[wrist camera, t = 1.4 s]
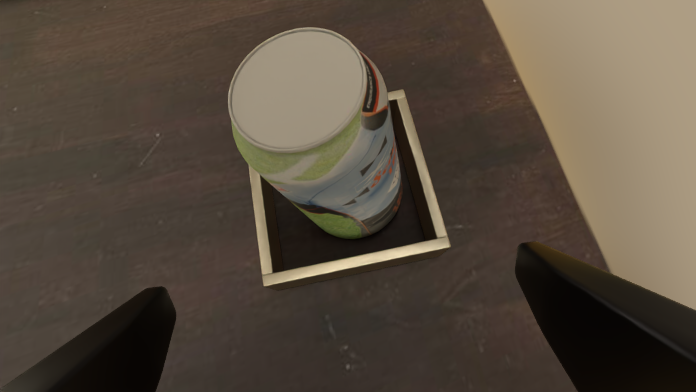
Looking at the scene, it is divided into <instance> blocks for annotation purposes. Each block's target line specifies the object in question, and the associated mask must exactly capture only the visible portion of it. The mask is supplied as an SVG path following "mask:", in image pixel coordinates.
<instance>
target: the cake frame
mask: <svg viewBox="0 0 696 392" xmlns="http://www.w3.org/2000/svg"><path fill="white" fill-rule="evenodd" d="M387 94H388V100H389V106H390V112H391V118H392V124H393V126H394V129H395V133H396V136H397V140H398V144H399V147H400V151H401V154H402V158H403V161H404V165H405V169H406V172H407V176H408V179H409V183H410V187H411V190H412V194H413V197H414V201H415V204H416V208H417V212H418V215H419V219H420V222H421V226H422V230H423V233H424V237H425V240H426V241H423V242H418V243H414V244H409V245H404V246H399V247H395V248H390V249H385V250H381V251H376V252H371V253H366V254H362V255H357V256H352V257H347V258H343V259H338V260H333V261H328V262H324V263H319V264H314V265H309V266H305V267H300V268H295V269H290V270H286V271H284V269H283V262H282V255H281V248H280V241H279V234H278V227H277V220H276V212H275V205H274V198H273V191H272V185H271V184H270V183H269V182H268V181H266V180H265V179H264V178H263V177H262V176H261V175H260V174H259V173H257V172H256V171H255V170H254V169H253V168H252V167H251V166H250V165H249V173H250V181H251V189H252V197H253V206H254V214H255V222H256V230H257V239H258V247H259V255H260V263H261V272H262V275H263V276H262V279H263V286H264V287H267V288H270V289H274V290H277V291H278V290H283V289H287V288H292V287H297V286H302V285H306V284H311V283H316V282H321V281H325V280H330V279H335V278H339V277H344V276H349V275H354V274H358V273H363V272H368V271H372V270H377V269H382V268H387V267H391V266H396V265H401V264H405V263H410V262H415V261H420V260H424V259H429V258H434V257H438V256H440V255H441V254H443V253H444V252H445V251H446V250H448V249H449V248H450V247H451V245H450V242H449V238H448V237H447V232H446V228H445V225H444V222H443V219H442V215H441V212H440V209H439V205H438V202H437V199H436V195H435V192H434V189H433V185H432V182H431V179H430V175H429V172H428V169H427V165H426V162H425V159H424V155H423V152H422V149H421V145H420V142H419V139H418V136H417V132H416V129H415V126H414V122H413V119H412V116H411V112H410V109H409V106H408V102H407V99H406V96H405V92H404V90H403V89H402V90H397V91H392V92H387Z"/></svg>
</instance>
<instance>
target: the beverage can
mask: <svg viewBox="0 0 696 392" xmlns="http://www.w3.org/2000/svg"><path fill="white" fill-rule="evenodd" d="M228 107H229V114H230V116H231V119H232V130H233V136H234V139H235V142H236V145H237V147H238V150H239V151H240V153H241V154H242V156H243V158H244V159H245V161H246V162H247V163H248V164H249V165H250V166H251V167H252V168H253V169H254V170H255V171H256V172H257V173H259V174H260V175H261V176H262V177H263V178H264V179H265V180H266V181H268V182H269V183H270V184H271V185H272V186H273V187H274V188H276V189H277V190H278V191H279V192H280V193H281V194H282V195H284V196H285V197H286V198H287V199H288V200H289V201H290V202H292V203H293V204H294V205H295V206H296V207H297V208H298V209H299V210H301V211H302V212H303V213H304V214H305V215H306V216H307V217H309V218H310V219H311V220H312V221H313V222H314V223H315V224H317V225H318V226H319V227H320V228H321V229H323V230H324V231H325V232H327V233H329V234H331V235H333V236H336V237H340V238H344V239H357V238H363V237H367V236H370V235H372V234H374V233H376V232H378V231H379V230H381V229H382V228H384V227H385V226H386V225H387V224H388V223H389V222H390V221H391V220H392V218H393V217H394V216H395V214H396V213H397V210H398V208H399V206H400V203H401V199H402V190H403V187H402V179H401V173H400V167H399V161H398V155H397V149H396V143H395V137H394V131H393V125H392V118H391V112H390V106H389V100H388V94H387V89H386V86H385V83H384V80H383V77H382V75H381V74H380V72H379V71H378V69H377V67H376V66H375V64H374V63H373V62H372V61H371V60H370V59H369V58H368V57H367V56H366V55H365V54H363V53H362V52H360V51H359V50H358V49H357V48H356V47H355V46H354V45H353V44H352V43H351V42H350V41H349V40H348V39H346V38H345V37H343V36H342V35H340V34H338V33H336V32H333V31H331V30H327V29H322V28H312V27H308V28H297V29H293V30H288V31H285V32H283V33H280V34H277V35H275V36H273V37H271V38H269V39H267V40H266V41H264V42H263V43H261V44H260V45H259V46H257V47H256V48H255V49H254V50H253V51H252V52H250V53H249V54H248V55H247V57H246V58H245V59H244V60H243V61H242V63H241V64H240V66H239V67H238V69H237V71H236V72H235V74H234V77H233V79H232V81H231V85H230V89H229V94H228Z"/></svg>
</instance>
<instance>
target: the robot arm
mask: <svg viewBox="0 0 696 392" xmlns="http://www.w3.org/2000/svg"><path fill="white" fill-rule="evenodd" d="M515 274H516V278H517V280H518V282H519V285H520V287H521V289H522V291H523V293H524V295H525V297H526V299H527V302H528V304H529V306H530V308H531V310H532V312H533V314H534V317H535V319H536V321H537V323H538V325H539V327H540V329H541V331H542V333H543V335H544V336H545V338H546V340H547V341H548V343H549V345H550V346H551V348H552V350H553V351H554V353H555V355H556V356H557V358H558V360H559V361H560V363H561V364H562V366H563V368H564V369H565V371H566V373H567V374H568V376H569V378H570V379H571V381H572V383H573V384H574V386H575V387H576V389H577V391H578V392H696V310H694V309H692V308H689V307H687V306H685V305H682V304H680V303H678V302H675V301H673V300H671V299H669V298H666V297H664V296H661V295H659V294H657V293H655V292H652V291H650V290H648V289H645V288H643V287H641V286H638V285H636V284H634V283H632V282H629V281H627V280H625V279H622V278H620V277H618V276H615V275H613V274H611V273H608V272H606V271H604V270H601V269H599V268H597V267H595V266H592V265H590V264H588V263H585V262H583V261H581V260H578V259H576V258H574V257H571V256H569V255H567V254H564V253H562V252H560V251H558V250H555V249H553V248H551V247H548V246H546V245H544V244H541V243H539V242H527V243H521V244H520V245H519V246H518V250H517V258H516V266H515ZM175 321H176V310H175V308H174V305H173V303H172V301H171V298H170V296H169V294H168V292H167V290H166V288H164V287H162V286H160V287H152V288H147V289H145V290H143V291H142V292H140V293H139V294H137V295H136V296H134V297H133V298H131V299H130V300H129V301H127V302H126V303H124V304H123V305H121V306H120V307H118V308H117V309H115V310H114V311H113V312H111V313H110V314H108V315H107V316H105V317H104V318H102V319H101V320H100V321H98V322H97V323H95V324H94V325H92V326H91V327H89V328H88V329H86V330H85V331H84V332H82V333H81V334H79V335H78V336H76V337H75V338H73V339H72V340H70V341H69V342H68V343H66V344H65V345H63V346H62V347H60V348H59V349H57V350H56V351H54V352H53V353H52V354H50V355H49V356H47V357H46V358H44V359H43V360H41V361H40V362H39V363H37V364H36V365H34V366H33V367H31V368H30V369H28V370H27V371H25V372H24V373H23V374H21V375H20V376H18V377H17V378H15V379H14V380H12V381H11V382H9V383H8V384H7V385H5V386H4V387H2V388H1V389H0V392H156V389H157V386H158V383H159V380H160V377H161V374H162V371H163V367H164V363H165V360H166V356H167V352H168V348H169V344H170V341H171V337H172V333H173V329H174V325H175Z"/></svg>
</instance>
